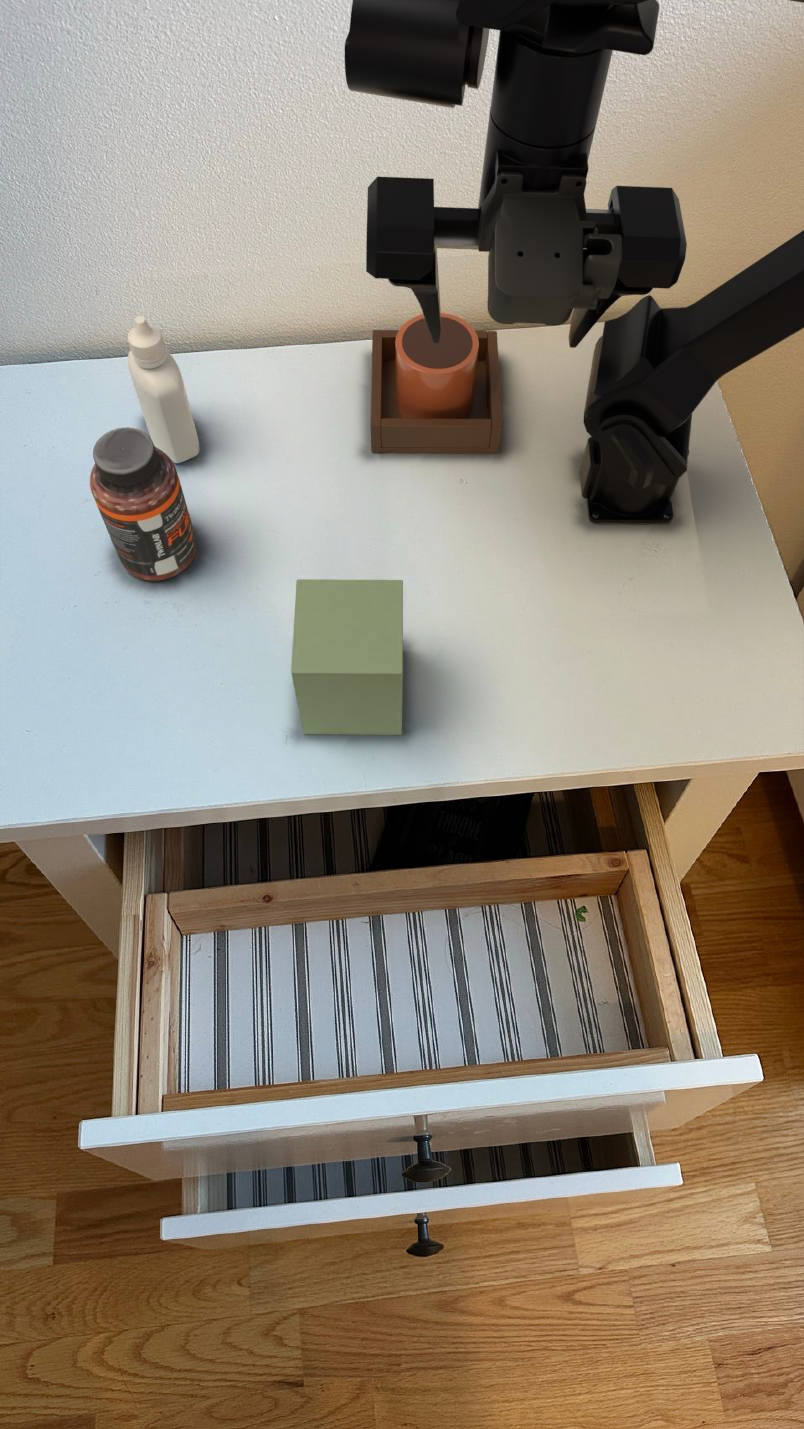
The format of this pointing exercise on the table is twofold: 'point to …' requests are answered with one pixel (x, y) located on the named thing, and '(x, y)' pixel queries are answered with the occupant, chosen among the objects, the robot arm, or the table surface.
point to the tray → (435, 434)
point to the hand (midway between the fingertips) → (504, 341)
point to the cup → (435, 369)
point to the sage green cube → (348, 656)
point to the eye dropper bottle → (161, 393)
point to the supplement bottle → (142, 505)
